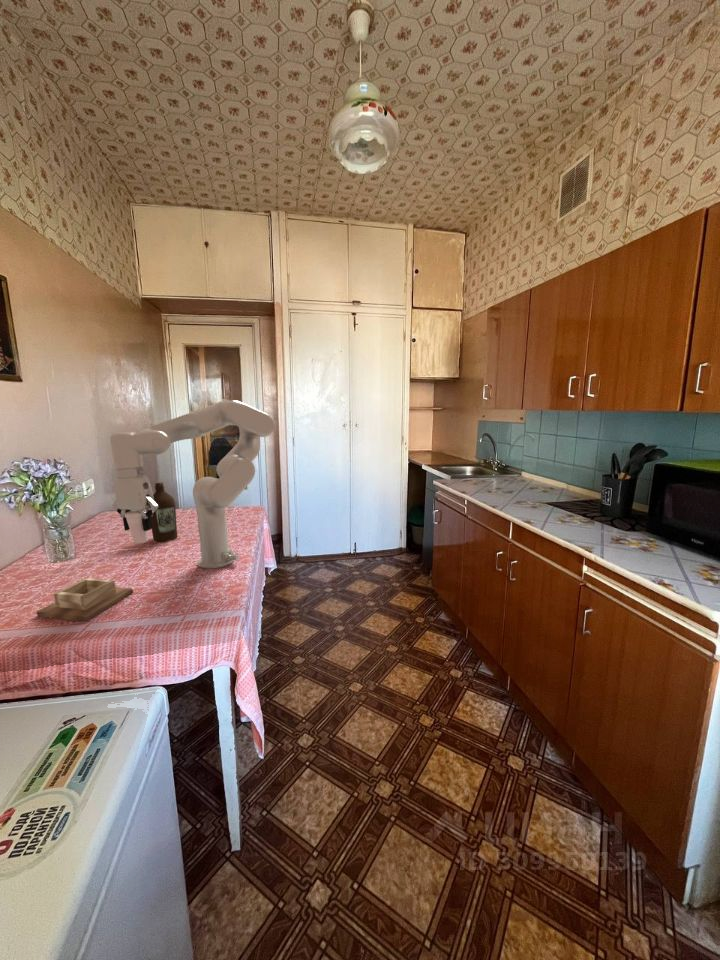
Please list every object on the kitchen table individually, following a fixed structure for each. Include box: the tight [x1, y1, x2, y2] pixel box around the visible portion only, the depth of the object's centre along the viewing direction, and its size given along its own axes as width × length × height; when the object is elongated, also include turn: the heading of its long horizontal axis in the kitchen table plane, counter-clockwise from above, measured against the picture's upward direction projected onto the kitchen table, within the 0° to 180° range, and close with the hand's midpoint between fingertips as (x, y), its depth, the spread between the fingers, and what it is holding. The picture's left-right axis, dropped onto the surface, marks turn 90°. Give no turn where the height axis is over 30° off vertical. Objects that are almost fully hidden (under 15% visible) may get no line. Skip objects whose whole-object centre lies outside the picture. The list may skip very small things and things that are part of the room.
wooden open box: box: [36, 577, 134, 623], centre depth 109 cm, size 16×16×6 cm
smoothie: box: [124, 510, 148, 544], centre depth 118 cm, size 6×6×14 cm
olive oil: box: [150, 481, 178, 543], centre depth 162 cm, size 11×11×25 cm
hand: (138, 528), depth 118 cm, fingers closed on smoothie, 6 cm apart
